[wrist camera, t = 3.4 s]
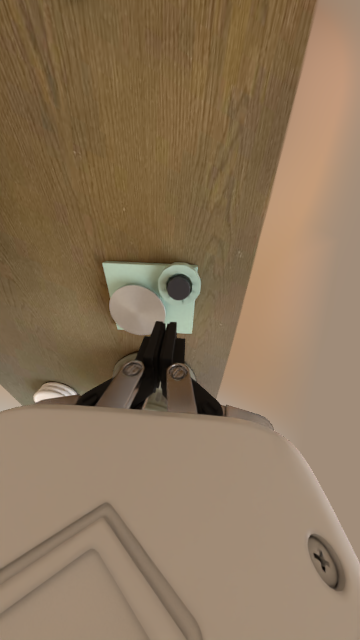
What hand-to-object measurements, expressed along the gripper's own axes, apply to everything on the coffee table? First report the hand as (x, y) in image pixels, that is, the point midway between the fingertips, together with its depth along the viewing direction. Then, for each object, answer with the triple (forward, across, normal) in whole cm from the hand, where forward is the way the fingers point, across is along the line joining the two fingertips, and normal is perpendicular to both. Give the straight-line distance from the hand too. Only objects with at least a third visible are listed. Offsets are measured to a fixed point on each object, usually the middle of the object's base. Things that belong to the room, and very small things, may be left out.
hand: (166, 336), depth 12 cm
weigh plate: (+11, +6, +4) cm, 13 cm away
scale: (+14, +4, +3) cm, 15 cm away
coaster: (+15, +33, +34) cm, 50 cm away
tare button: (+12, 0, 0) cm, 12 cm away
